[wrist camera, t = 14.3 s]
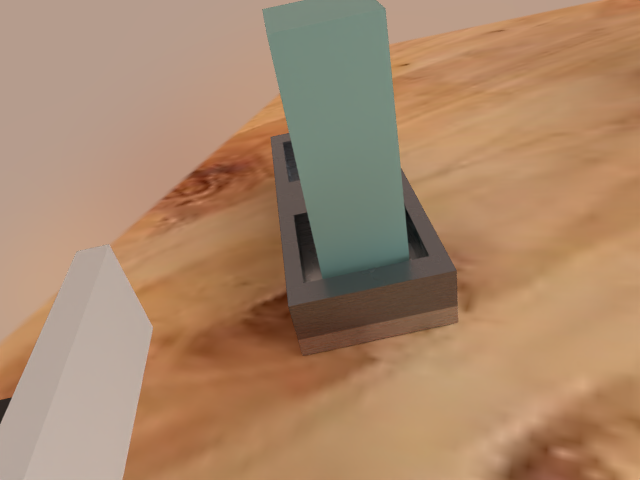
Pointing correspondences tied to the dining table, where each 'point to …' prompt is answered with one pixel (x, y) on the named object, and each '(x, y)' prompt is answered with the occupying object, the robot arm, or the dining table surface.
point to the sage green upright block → (342, 128)
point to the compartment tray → (359, 275)
